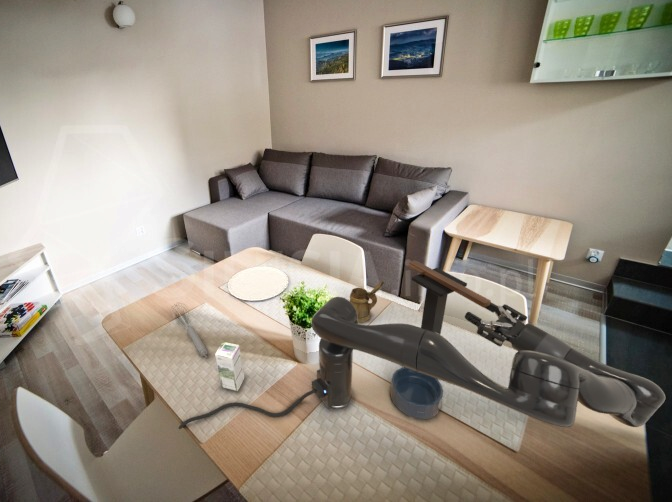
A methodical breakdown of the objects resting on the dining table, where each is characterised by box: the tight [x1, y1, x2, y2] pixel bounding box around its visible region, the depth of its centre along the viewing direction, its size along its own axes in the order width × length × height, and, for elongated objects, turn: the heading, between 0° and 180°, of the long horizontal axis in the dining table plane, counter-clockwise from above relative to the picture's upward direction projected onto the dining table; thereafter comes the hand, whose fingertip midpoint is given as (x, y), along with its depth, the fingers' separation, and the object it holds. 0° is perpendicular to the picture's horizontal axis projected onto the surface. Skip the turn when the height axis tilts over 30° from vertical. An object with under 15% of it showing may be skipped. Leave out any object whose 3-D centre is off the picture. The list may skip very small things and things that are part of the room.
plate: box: [227, 265, 289, 302], centre depth 155 cm, size 29×29×1 cm
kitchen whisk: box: [170, 301, 208, 357], centre depth 126 cm, size 6×34×6 cm, turn 32°
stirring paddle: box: [407, 259, 492, 309], centre depth 90 cm, size 4×24×1 cm, turn 25°
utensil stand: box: [411, 267, 468, 335], centre depth 99 cm, size 12×10×32 cm
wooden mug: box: [349, 281, 385, 323], centre depth 124 cm, size 9×14×18 cm, turn 58°
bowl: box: [389, 366, 444, 420], centre depth 93 cm, size 13×13×6 cm
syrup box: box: [214, 341, 245, 392], centre depth 101 cm, size 6×6×14 cm
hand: (473, 308), depth 91 cm, fingers open, 8 cm apart
